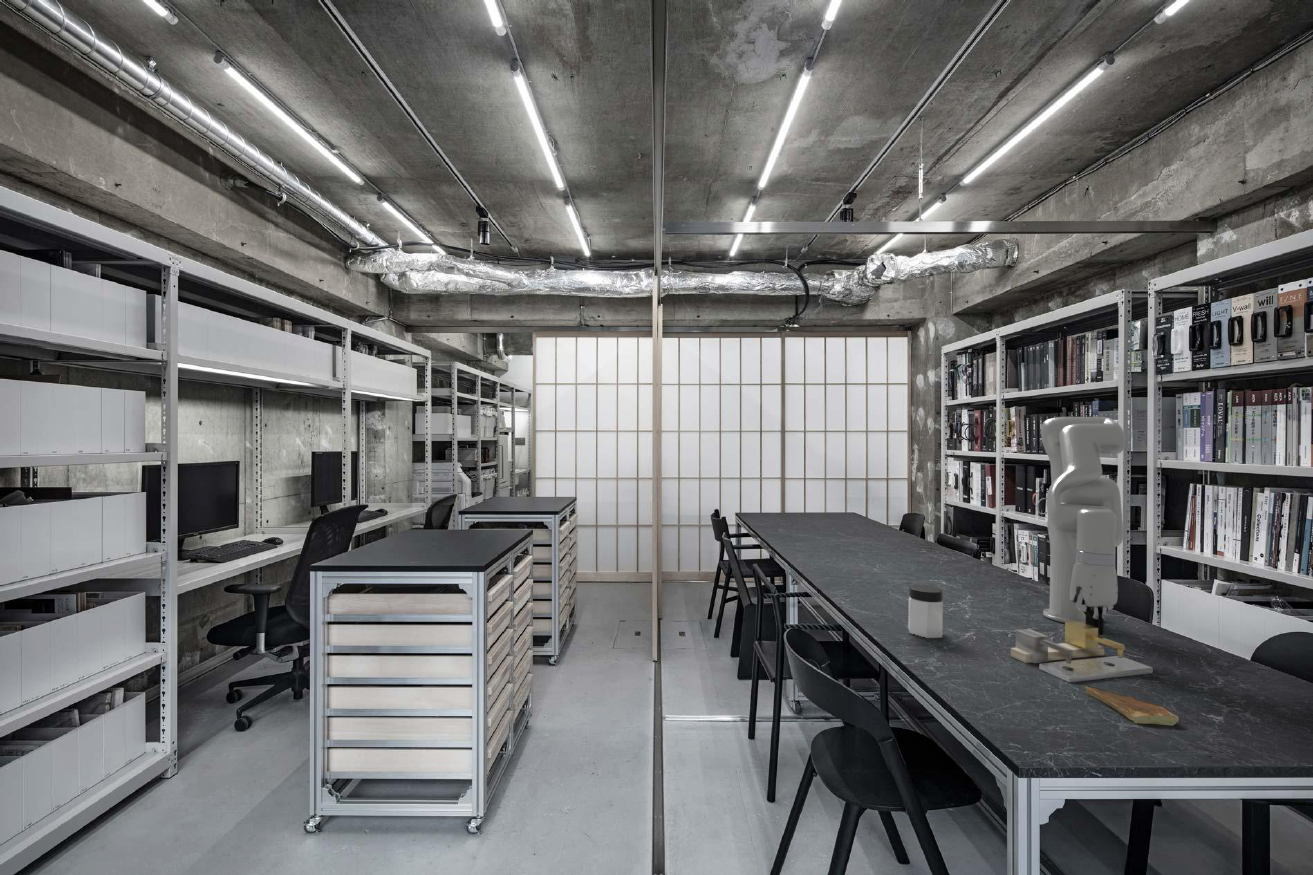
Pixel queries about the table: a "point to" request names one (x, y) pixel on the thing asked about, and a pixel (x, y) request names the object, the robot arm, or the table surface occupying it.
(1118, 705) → the shard
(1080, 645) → the sliding leg
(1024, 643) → the divider rail
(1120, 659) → the bolt plate
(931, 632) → the jar
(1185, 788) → the table surface
